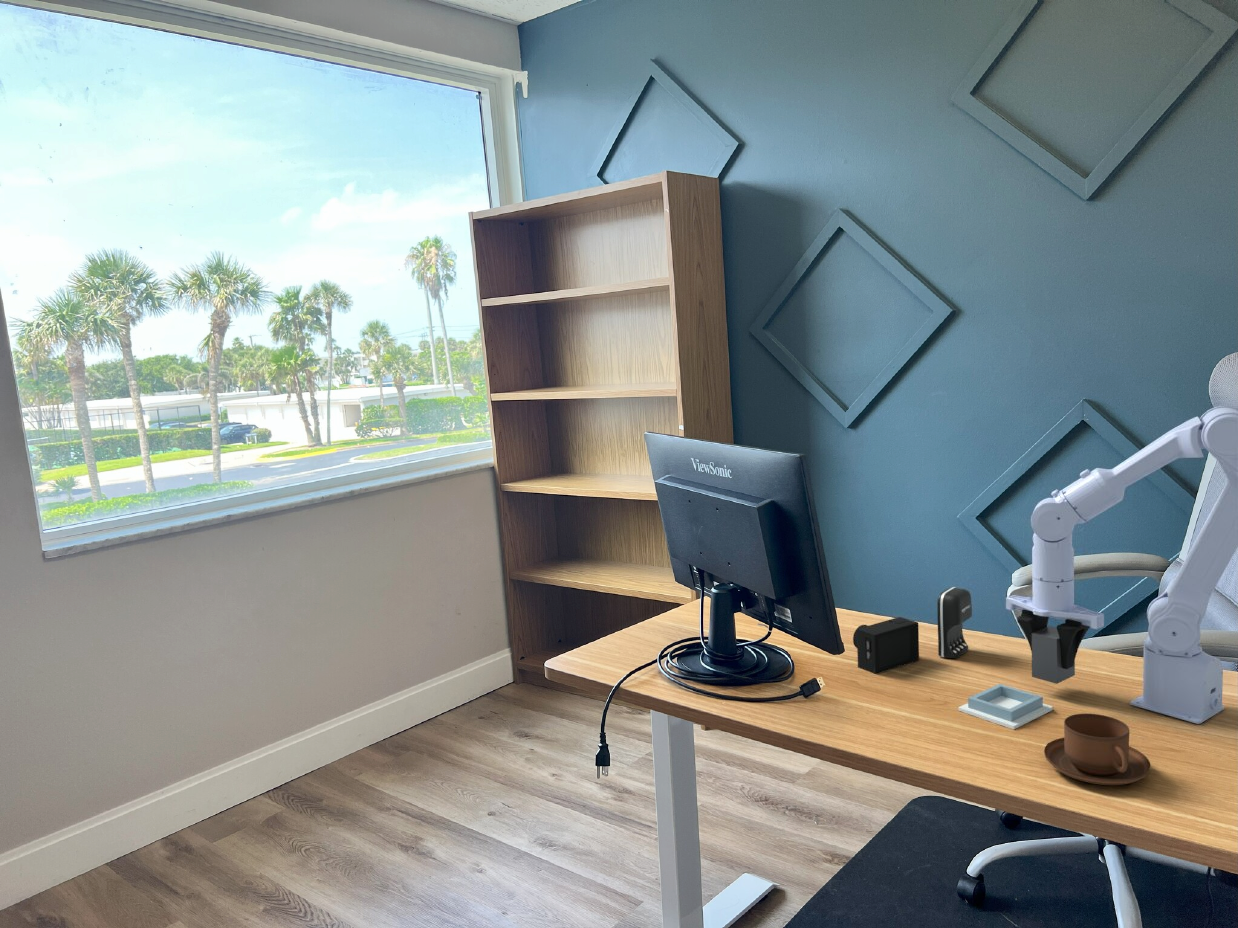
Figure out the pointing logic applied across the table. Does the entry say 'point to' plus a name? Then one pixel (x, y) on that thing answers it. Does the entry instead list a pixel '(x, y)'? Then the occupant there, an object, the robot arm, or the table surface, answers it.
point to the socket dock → (1006, 706)
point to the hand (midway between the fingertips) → (1053, 663)
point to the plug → (1048, 656)
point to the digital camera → (887, 644)
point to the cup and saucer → (1097, 751)
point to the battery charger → (952, 621)
